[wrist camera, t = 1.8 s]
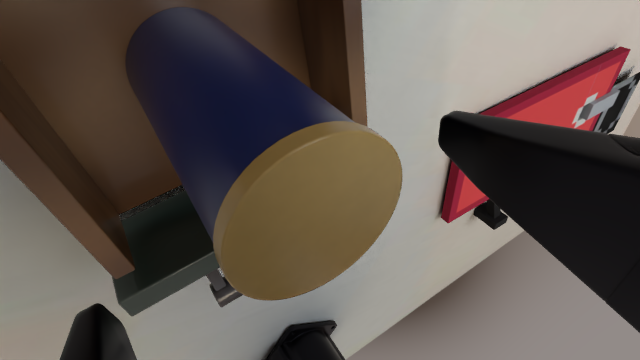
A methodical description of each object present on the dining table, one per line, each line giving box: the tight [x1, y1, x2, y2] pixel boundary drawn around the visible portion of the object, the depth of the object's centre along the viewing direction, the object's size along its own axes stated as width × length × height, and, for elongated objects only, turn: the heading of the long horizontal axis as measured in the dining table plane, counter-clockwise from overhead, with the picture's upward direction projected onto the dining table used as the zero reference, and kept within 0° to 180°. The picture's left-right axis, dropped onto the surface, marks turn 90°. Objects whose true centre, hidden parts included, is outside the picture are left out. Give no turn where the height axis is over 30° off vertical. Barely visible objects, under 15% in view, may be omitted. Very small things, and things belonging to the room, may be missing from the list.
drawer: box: [0, 0, 367, 316], centre depth 15 cm, size 20×13×5 cm, turn 9°
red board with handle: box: [441, 47, 640, 230], centre depth 40 cm, size 30×3×15 cm
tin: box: [126, 7, 402, 300], centre depth 12 cm, size 5×5×10 cm
